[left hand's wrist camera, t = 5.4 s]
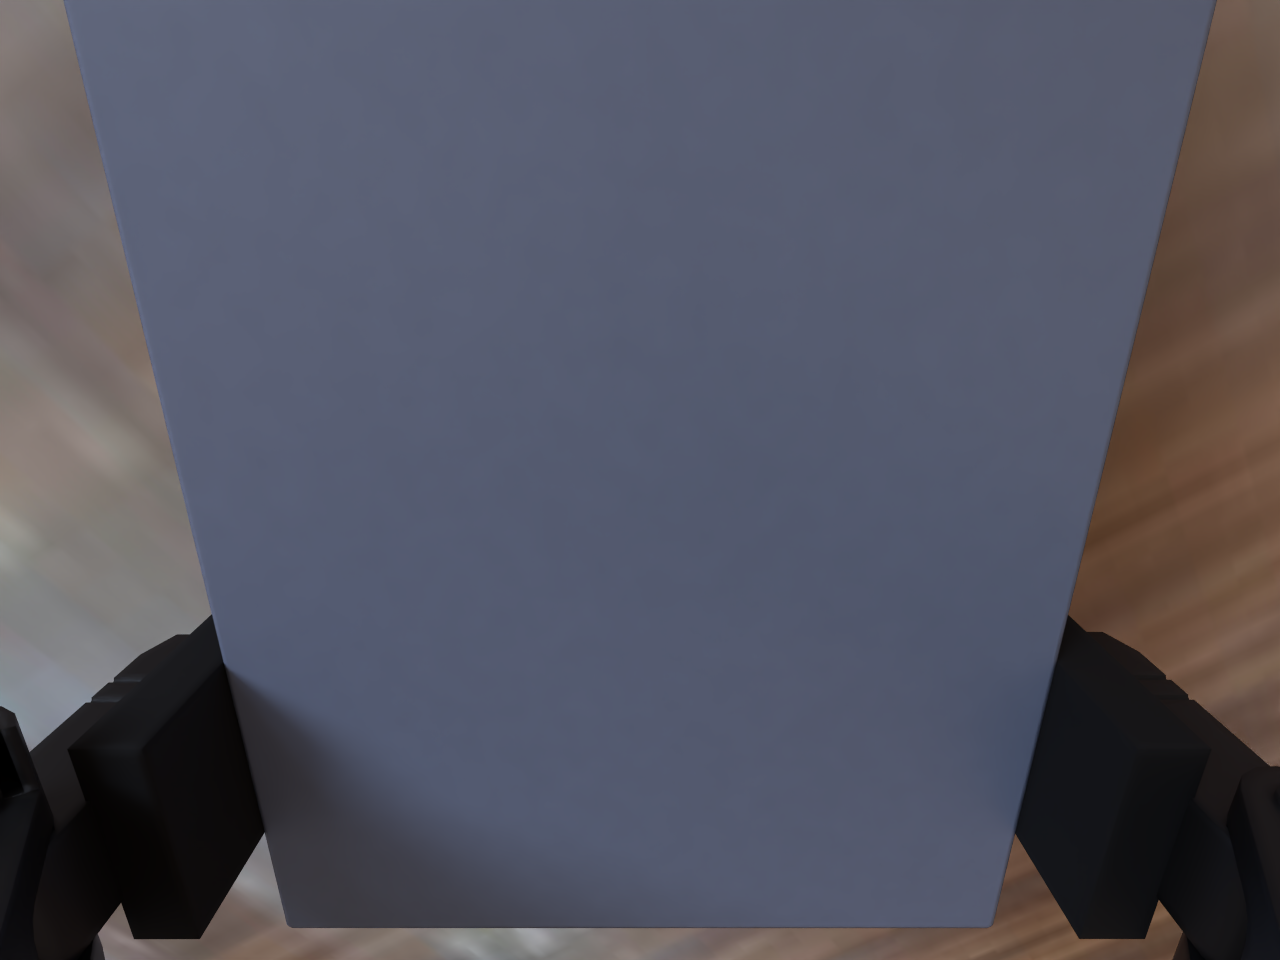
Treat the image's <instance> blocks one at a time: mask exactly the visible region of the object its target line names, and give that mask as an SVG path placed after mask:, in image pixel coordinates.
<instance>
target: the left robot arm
mask: <svg viewBox="0 0 1280 960" xmlns="http://www.w3.org/2000/svg"><path fill="white" fill-rule="evenodd" d="M264 832H265V831H264V827H263V823H262V819H261V814H260V810H259V806H258V802H257V798H256V794H255V790H254V786H253V781H252V777H251V773H250V769H249V765H248V761H247V757H246V752H245V748H244V744H243V740H242V736H241V732H240V728H239V724H238V719H237V715H236V711H235V707H234V703H233V699H232V695H231V690H230V686H229V682H228V678H227V674H226V670H225V666H224V662H223V657H222V653H221V649H220V645H219V641H218V637H217V633H216V628H215V624H214V620H213V616H212V615H211V616H209V617H208V618H207V619H206V620H205V621H204V622H203V623H202V624H201V625H200V626H199V627H198V628H197V629H196V630H194V631H193V632H192V633H191V634H190V635H175V636H174V637H172V638H170V639H168V640H166V641H164V642H163V643H161V644H159V645H157V646H155V647H153V648H152V649H150V650H148V651H146V652H144V653H142V654H141V655H140V656H138V657H137V658H136V659H135V660H134V661H133V662H132V663H130V664H129V665H128V666H127V667H126V668H125V669H124V670H122V671H121V672H120V673H119V674H118V675H117V676H116V677H115V678H114V682H113V683H108V684H107V685H105V686H104V687H103V688H102V689H101V690H100V691H99V692H97V693H96V694H95V695H94V696H93V697H92V701H91V703H85V704H84V705H83V706H82V707H80V708H79V709H78V710H77V711H76V712H75V713H74V714H72V715H71V716H70V717H69V718H68V719H67V720H66V721H65V722H63V723H62V724H61V725H60V726H59V727H58V728H57V729H55V730H54V731H53V732H52V733H51V734H50V735H49V736H47V737H46V738H45V739H44V740H43V741H42V742H41V743H40V744H38V745H37V746H36V747H35V748H34V749H33V750H32V751H30V752H29V750H28V748H27V745H26V742H25V740H24V737H23V734H22V732H21V729H20V726H19V724H18V721H17V718H16V716H15V713H13V712H11V711H9V710H7V709H5V708H4V707H2V706H0V960H105V957H104V952H103V947H102V944H101V941H100V939H99V936H98V932H99V931H100V930H101V928H102V927H103V926H104V924H105V923H106V922H107V920H108V919H109V918H110V916H111V915H112V914H113V913H114V911H115V910H116V909H117V907H118V906H119V905H120V903H122V906H123V909H124V912H125V915H126V917H127V920H128V923H129V926H130V929H131V932H132V934H133V937H134V939H200V938H201V936H202V935H203V933H204V931H205V930H206V928H207V926H208V925H209V923H210V921H211V920H212V918H213V916H214V915H215V913H216V912H217V910H218V908H219V907H220V905H221V903H222V902H223V900H224V898H225V897H226V895H227V893H228V892H229V890H230V888H231V887H232V885H233V884H234V882H235V880H236V879H237V877H238V875H239V874H240V872H241V870H242V869H243V867H244V865H245V864H246V862H247V860H248V859H249V857H250V856H251V854H252V852H253V851H254V849H255V847H256V846H257V844H258V842H259V841H260V839H261V837H262V836H263V834H264ZM1015 834H1016V835H1017V837H1018V839H1019V840H1020V842H1021V844H1022V845H1023V847H1024V849H1025V850H1026V852H1027V854H1028V855H1029V857H1030V858H1031V860H1032V862H1033V863H1034V865H1035V867H1036V868H1037V870H1038V872H1039V873H1040V875H1041V877H1042V878H1043V880H1044V882H1045V883H1046V885H1047V886H1048V888H1049V890H1050V891H1051V893H1052V895H1053V896H1054V898H1055V900H1056V901H1057V903H1058V905H1059V906H1060V908H1061V910H1062V911H1063V913H1064V914H1065V916H1066V918H1067V919H1068V921H1069V923H1070V924H1071V926H1072V928H1073V929H1074V931H1075V933H1076V934H1077V936H1078V937H1079V939H1145V937H1146V934H1147V932H1148V929H1149V926H1150V923H1151V920H1152V917H1153V914H1154V912H1155V909H1156V906H1157V903H1158V900H1160V902H1161V903H1162V904H1163V906H1164V907H1165V908H1166V910H1167V911H1168V912H1169V914H1170V915H1171V916H1172V918H1173V919H1174V920H1175V922H1176V923H1177V924H1178V925H1179V927H1180V928H1181V929H1182V931H1183V933H1182V936H1181V939H1180V941H1179V944H1178V947H1177V949H1176V952H1175V954H1174V957H1173V960H1280V767H1278V766H1272V767H1270V766H1269V765H1268V764H1267V763H1266V762H1264V761H1263V760H1262V759H1261V758H1260V757H1259V756H1258V755H1256V754H1255V753H1254V752H1253V751H1252V750H1251V749H1250V748H1248V747H1247V746H1246V745H1245V744H1244V743H1243V742H1242V741H1240V740H1239V739H1238V738H1237V737H1236V736H1235V735H1234V734H1232V733H1231V732H1230V731H1229V730H1228V729H1227V728H1226V727H1224V726H1223V725H1222V724H1221V723H1220V722H1219V721H1218V720H1216V719H1215V718H1214V717H1213V716H1212V715H1211V714H1210V713H1208V712H1207V711H1206V710H1205V709H1204V708H1203V707H1202V706H1200V705H1199V704H1198V703H1197V702H1196V701H1195V700H1189V698H1188V694H1187V693H1186V692H1184V691H1183V690H1182V689H1181V688H1180V687H1179V686H1177V685H1176V684H1175V683H1174V682H1173V681H1172V680H1166V675H1165V674H1164V673H1163V672H1161V671H1160V670H1159V669H1158V668H1157V667H1156V666H1155V665H1153V664H1152V663H1151V662H1150V661H1149V660H1148V659H1147V658H1145V657H1144V656H1143V655H1142V654H1141V653H1140V652H1138V651H1136V650H1135V649H1133V648H1131V647H1129V646H1127V645H1125V644H1124V643H1122V642H1120V641H1118V640H1116V639H1114V638H1113V637H1111V636H1109V635H1107V634H1105V633H1103V632H1086V631H1085V630H1084V629H1083V628H1082V627H1080V626H1079V625H1078V624H1077V623H1076V622H1075V621H1074V620H1073V619H1072V618H1071V617H1070V616H1069V615H1068V617H1067V621H1066V625H1065V629H1064V633H1063V637H1062V641H1061V645H1060V650H1059V654H1058V658H1057V662H1056V666H1055V670H1054V674H1053V678H1052V683H1051V687H1050V691H1049V695H1048V699H1047V703H1046V707H1045V712H1044V716H1043V720H1042V724H1041V728H1040V732H1039V736H1038V740H1037V745H1036V749H1035V753H1034V757H1033V761H1032V765H1031V769H1030V773H1029V778H1028V782H1027V786H1026V790H1025V794H1024V798H1023V802H1022V806H1021V811H1020V815H1019V819H1018V823H1017V827H1016V831H1015Z"/></svg>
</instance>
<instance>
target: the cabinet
mask: <svg viewBox="0 0 1280 960" xmlns="http://www.w3.org/2000/svg"><path fill="white" fill-rule="evenodd" d="M1216 1H1217V0H64V4H65V8H66V13H67V17H68V21H69V25H70V29H71V33H72V37H73V41H74V46H75V50H76V54H77V58H78V62H79V66H80V70H81V75H82V79H83V83H84V87H85V91H86V95H87V99H88V103H89V108H90V112H91V116H92V120H93V124H94V128H95V132H96V137H97V141H98V145H99V149H100V153H101V157H102V161H103V165H104V170H105V174H106V178H107V182H108V186H109V190H110V194H111V199H112V203H113V207H114V211H115V215H116V219H117V223H118V227H119V232H120V236H121V240H122V244H123V248H124V252H125V256H126V261H127V265H128V269H129V273H130V277H131V281H132V285H133V289H134V294H135V298H136V302H137V306H138V310H139V314H140V318H141V323H142V327H143V331H144V335H145V339H146V343H147V347H148V351H149V356H150V360H151V364H152V368H153V372H154V376H155V380H156V385H157V389H158V393H159V397H160V401H161V405H162V409H163V413H164V418H165V422H166V426H167V430H168V434H169V438H170V442H171V447H172V451H173V455H174V459H175V463H176V467H177V471H178V475H179V480H180V484H181V488H182V492H183V496H184V500H185V504H186V509H187V513H188V517H189V521H190V525H191V529H192V533H193V537H194V542H195V546H196V550H197V554H198V558H199V562H200V566H201V571H202V575H203V579H204V583H205V587H206V591H207V595H208V599H209V604H210V608H211V612H212V616H213V620H214V624H215V628H216V633H217V637H218V641H219V645H220V649H221V653H222V657H223V662H224V666H225V670H226V674H227V678H228V682H229V686H230V690H231V695H232V699H233V703H234V707H235V711H236V715H237V719H238V724H239V728H240V732H241V736H242V740H243V744H244V748H245V752H246V757H247V761H248V765H249V769H250V773H251V777H252V781H253V786H254V790H255V794H256V798H257V802H258V806H259V810H260V814H261V819H262V823H263V827H264V831H265V835H266V839H267V843H268V848H269V852H270V856H271V860H272V864H273V868H274V872H275V876H276V881H277V885H278V889H279V893H280V897H281V901H282V905H283V910H284V914H285V918H286V922H287V925H288V926H289V927H292V928H988V927H991V926H992V925H993V922H994V918H995V914H996V910H997V906H998V901H999V897H1000V893H1001V889H1002V885H1003V881H1004V877H1005V873H1006V868H1007V864H1008V860H1009V856H1010V852H1011V848H1012V844H1013V840H1014V835H1015V831H1016V827H1017V823H1018V819H1019V815H1020V811H1021V806H1022V802H1023V798H1024V794H1025V790H1026V786H1027V782H1028V778H1029V773H1030V769H1031V765H1032V761H1033V757H1034V753H1035V749H1036V745H1037V740H1038V736H1039V732H1040V728H1041V724H1042V720H1043V716H1044V712H1045V707H1046V703H1047V699H1048V695H1049V691H1050V687H1051V683H1052V678H1053V674H1054V670H1055V666H1056V662H1057V658H1058V654H1059V650H1060V645H1061V641H1062V637H1063V633H1064V629H1065V625H1066V621H1067V617H1068V612H1069V608H1070V604H1071V600H1072V596H1073V592H1074V588H1075V584H1076V579H1077V575H1078V571H1079V567H1080V563H1081V559H1082V555H1083V551H1084V546H1085V542H1086V538H1087V534H1088V530H1089V526H1090V522H1091V517H1092V513H1093V509H1094V505H1095V501H1096V497H1097V493H1098V489H1099V484H1100V480H1101V476H1102V472H1103V468H1104V464H1105V460H1106V456H1107V451H1108V447H1109V443H1110V439H1111V435H1112V431H1113V427H1114V423H1115V418H1116V414H1117V410H1118V406H1119V402H1120V398H1121V394H1122V389H1123V385H1124V381H1125V377H1126V373H1127V369H1128V365H1129V361H1130V356H1131V352H1132V348H1133V344H1134V340H1135V336H1136V332H1137V328H1138V323H1139V319H1140V315H1141V311H1142V307H1143V303H1144V299H1145V295H1146V290H1147V286H1148V282H1149V278H1150V274H1151V270H1152V266H1153V261H1154V257H1155V253H1156V249H1157V245H1158V241H1159V237H1160V233H1161V228H1162V224H1163V220H1164V216H1165V212H1166V208H1167V204H1168V200H1169V195H1170V191H1171V187H1172V183H1173V179H1174V175H1175V171H1176V167H1177V162H1178V158H1179V154H1180V150H1181V146H1182V142H1183V138H1184V133H1185V129H1186V125H1187V121H1188V117H1189V113H1190V109H1191V105H1192V100H1193V96H1194V92H1195V88H1196V84H1197V80H1198V76H1199V72H1200V67H1201V63H1202V59H1203V55H1204V51H1205V47H1206V43H1207V39H1208V34H1209V30H1210V26H1211V22H1212V18H1213V14H1214V10H1215V6H1216Z"/></svg>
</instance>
